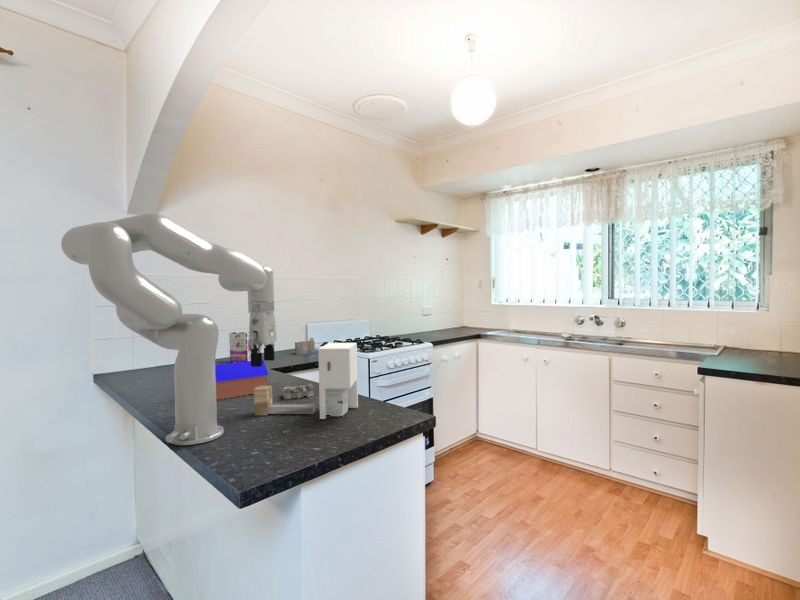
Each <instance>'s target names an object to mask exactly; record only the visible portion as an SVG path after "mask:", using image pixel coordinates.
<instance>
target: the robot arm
mask: <svg viewBox="0 0 800 600" xmlns="http://www.w3.org/2000/svg"><path fill="white" fill-rule="evenodd" d="M60 243H61V244H60V246H61V250H62V252H63V253H64V255H65V256H66V257H67V259H69V260H70V261H73V262H74V263H77V264H80V265H88V266H87V267H88V271H89V276H90V278H91V282H92V285H93V286H94V288H95V290H96V291H97V292H98V293H99V294H100V295H101V296H102V297H103V298H104V299H106V300H107V301H108V302H110V303H112V304H114V305H115V306H116V307H115V312H116V316H117V318H118V320H119V321H120V322H121V324H122V325H123V326H125V327H126V328H127V329H129V330H131V331H133V332H134V333H136V334H138V335H139V336H141V337H142V338H144V339H146V340H148V341H149V342H151V343H152V344H153V343H154V344H155V345H157V346H159V347H161V348H164V349H167V350H173V351H174V350H175V351H178V352H177V356H176V358H175V361H174V367H173V379H174V380H173V381H174V383H173V384H174V414H175V415H174V417H175V418H174V420H175V424H174V427H173V428H174V430H173V431H172V432H170V433H169V434H167V435H166V436H165V441H166V442H167V443H170V444H172V445H175V446H176V445H177V446H193V445H198V444H199V445H200V444H204V443H208V442H210V441H214V440H216V439H219V438H221V436H222V435H223V434H224V432H225V431H224V427H223V425H220V424H218V419H217V418H218V415H217V414H218V413H217V411H218V410H217V400H216V374H215V365H216V355H217V346H218V341H219V335H220V333H219V327H218V325H217V323H216V322H215V320H214V319H212V318H211V317H210V316H207V315H205V314H199V313H183V307H182V305H181V303H180V302H179V301H178V299H177V298H176V297H175V296H173V294H171V293H169V292H167V291H166V290H165V289H164V288H162V287H160V286H159V285H157V284H156V283H154V281H152V280H150V279H149V278H148V277H146V276H145V275H144V274H142V273H141V271H139V270H138V268H137V267H136V266H135V262H134V259H133V254H134V253H139V252H144V251H151V252H154V253H155V254H158V255H159V256H162V257H164V258H166V259H168V260H170V261H172V262H174V263H176V264H178V265H180V266H181V267H183V268H185V269H188V270H191V271H195V272H198V273H203V274H213V275H218V279H217V280H218V283H219V285H220V286H221V288H223V289H224V290H227V291H229V292H247V301H248V302H247V306H248V307H247V308H248V309H247V310H248V311H247V312H248V314H249V325H248V332H249V340H248V342H249V348H250V353H251V366H252V367H261V366H262V360H264V362H265V361H267V362H268V361H274V360H275V343H276V341H277V329H276V328H277V325H276V318H275V317H276V316H275V313H274V312H275V292H274V291H275V290H274V288H275V286H274V285H275V282H274V270H273V268H271V267H269V266H261V264H260V263H258V262H256V261H255V260H253V259H252V258H250V257H248V256H246V255H244V254H243V253H240V252H238V251H235V250H233V249H230V248H228V247H227V248H226V247H225V246H223V245H222V246H221V245H219V244H217V243H214V242H210V241H208V240H205V239H203V238H202V237H200V236H198V235H197V234H195V233H193V232H191V231H190V230H188V229H187V228H185V227H183V226H182V225H180V224H178V223H177V222H175V221H173V220H172V219H170V218H169V217H167V216H164V215H162V214H159V213H155V212H150V213H143V214H139V215H137V214H136V215H132V216H129V217H128V216H127V217H124V218H119V219H115V220H110V221H103V222H95V223H89V224H85V225H79V226H75V227H73V228H71V229H69V230H67V231H66V232H65V233H64V234H63V236H62V238H61V242H60ZM263 345H264V347H263ZM262 348H263V352H261V351H262Z"/></svg>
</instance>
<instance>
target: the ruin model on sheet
mask: <svg viewBox="0 0 800 600" xmlns="http://www.w3.org/2000/svg"><path fill="white" fill-rule="evenodd" d="M315 343H316V342H315V339H314V338H313V337H309V340H306V341H299V342H296V341H295V342H294V354H295V355H296V356H298V354H299V355H307V354H308V355H309V354H315V353H316V349H315V348H316V346H315V345H316V344H315Z"/></svg>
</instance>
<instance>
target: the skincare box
mask: <svg viewBox="0 0 800 600" xmlns="http://www.w3.org/2000/svg"><path fill="white" fill-rule="evenodd" d="M348 411H349V408H348V388H337V389H326V415H330V416H329V417H340V416H342V417H344V416H345V415H344V414H347V412H348ZM343 415H344V416H343Z"/></svg>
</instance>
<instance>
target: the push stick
mask: <svg viewBox="0 0 800 600" xmlns="http://www.w3.org/2000/svg"><path fill="white" fill-rule="evenodd" d="M253 405H254V407H253V408H254V411H253V412H254V416H269V415H268V414H314V413H315V412H316V407H315V405H316V404H315V403H286V404H285V403H273V385H267V386H258V387H256V388H255V389H254V394H253Z"/></svg>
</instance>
